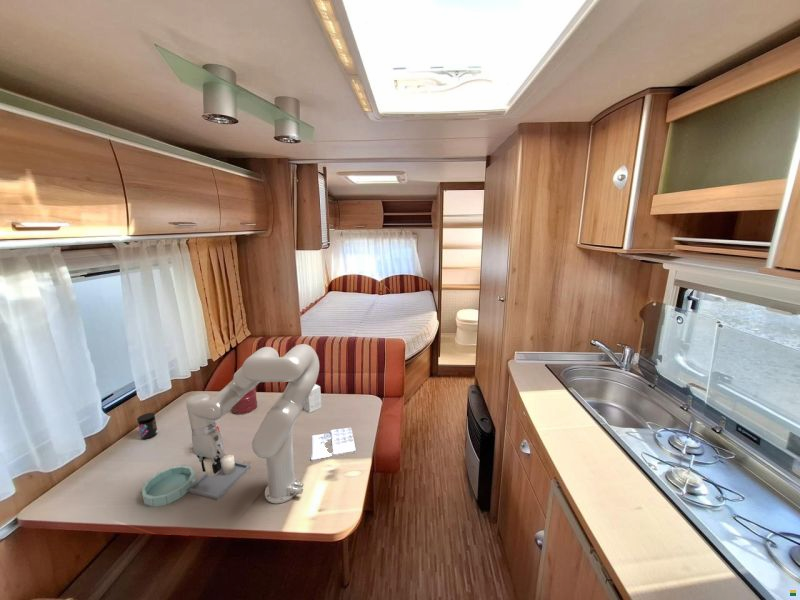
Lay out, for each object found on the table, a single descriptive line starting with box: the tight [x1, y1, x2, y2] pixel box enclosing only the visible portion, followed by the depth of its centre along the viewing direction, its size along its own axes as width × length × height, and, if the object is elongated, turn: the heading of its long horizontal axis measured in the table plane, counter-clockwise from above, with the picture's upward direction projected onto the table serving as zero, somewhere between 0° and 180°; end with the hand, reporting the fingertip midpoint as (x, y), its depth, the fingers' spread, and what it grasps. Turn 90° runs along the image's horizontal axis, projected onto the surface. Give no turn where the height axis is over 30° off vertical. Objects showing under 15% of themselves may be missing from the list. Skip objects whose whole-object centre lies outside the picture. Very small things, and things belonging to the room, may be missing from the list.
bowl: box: [141, 464, 197, 508], centre depth 120 cm, size 16×16×4 cm
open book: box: [310, 427, 357, 462], centre depth 147 cm, size 19×20×2 cm
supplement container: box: [136, 412, 159, 441], centre depth 151 cm, size 7×7×10 cm
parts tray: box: [187, 459, 251, 501], centre depth 125 cm, size 14×17×2 cm
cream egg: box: [203, 456, 219, 477], centre depth 119 cm, size 4×4×6 cm
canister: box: [231, 386, 258, 415], centre depth 175 cm, size 13×13×18 cm
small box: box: [302, 383, 322, 414], centre depth 176 cm, size 8×6×13 cm
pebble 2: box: [221, 454, 236, 475], centre depth 129 cm, size 4×4×6 cm
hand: (212, 469), depth 119 cm, fingers closed on cream egg, 4 cm apart
